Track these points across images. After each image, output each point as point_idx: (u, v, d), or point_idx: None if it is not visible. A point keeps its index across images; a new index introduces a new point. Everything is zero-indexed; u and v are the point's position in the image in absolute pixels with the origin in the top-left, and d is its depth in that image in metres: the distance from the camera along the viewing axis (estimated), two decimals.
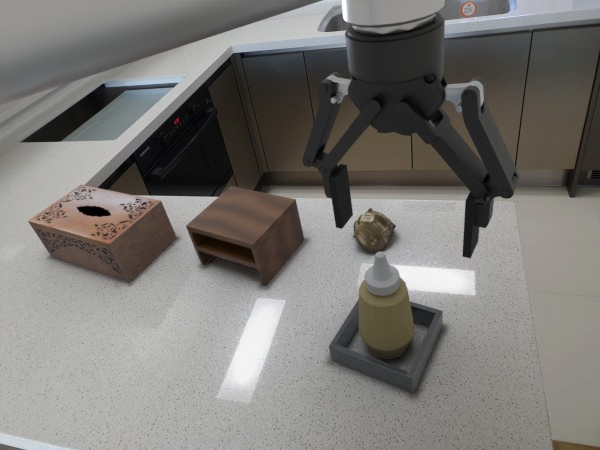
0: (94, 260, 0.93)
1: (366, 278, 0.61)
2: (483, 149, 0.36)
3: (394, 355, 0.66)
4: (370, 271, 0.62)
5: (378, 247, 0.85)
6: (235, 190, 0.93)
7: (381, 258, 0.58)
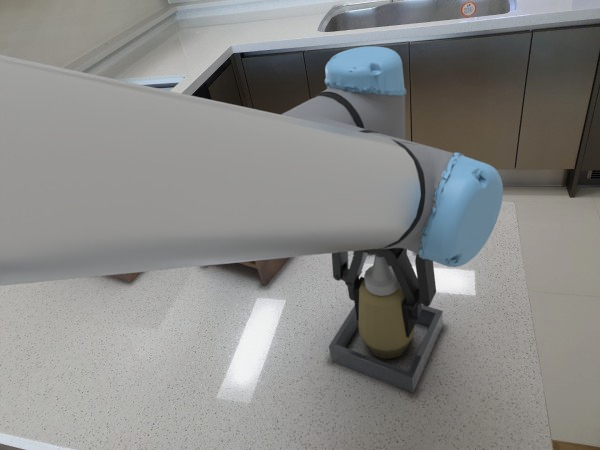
0: None
1: (366, 278, 0.61)
2: (421, 278, 0.56)
3: (395, 355, 0.66)
4: (370, 271, 0.62)
5: None
6: None
7: (381, 258, 0.58)
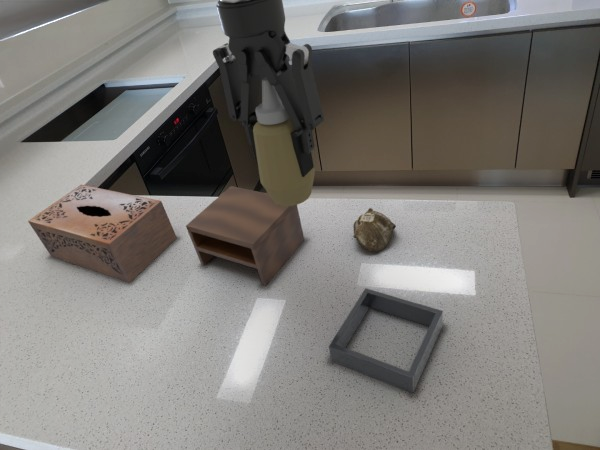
0: (94, 260, 0.93)
1: (256, 109, 0.60)
2: (301, 93, 0.55)
3: (294, 200, 0.65)
4: (262, 104, 0.61)
5: (378, 247, 0.85)
6: (235, 190, 0.93)
7: (267, 81, 0.58)
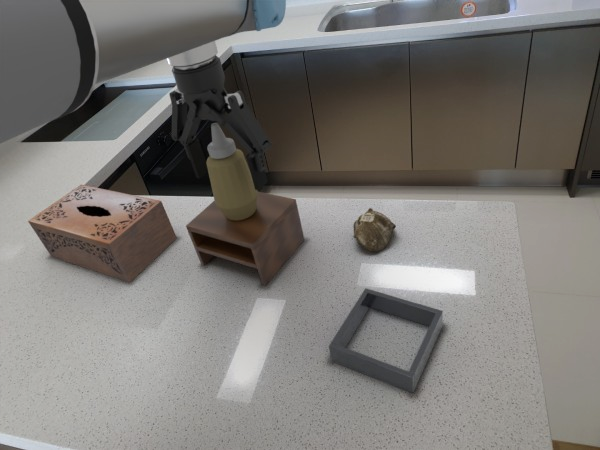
0: (94, 260, 0.93)
1: (208, 146, 0.78)
2: (244, 127, 0.71)
3: (240, 215, 0.83)
4: None
5: (378, 247, 0.85)
6: None
7: (214, 126, 0.75)
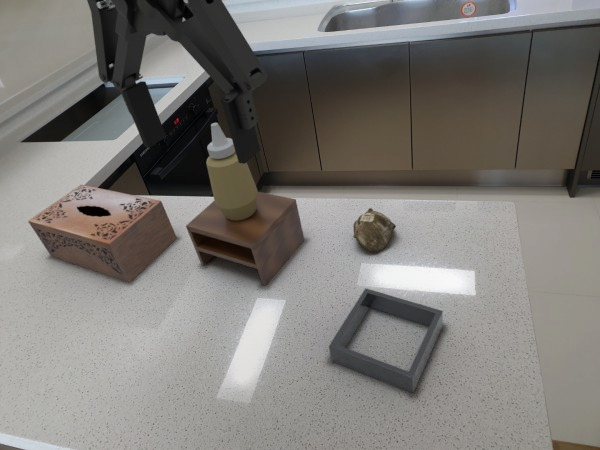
0: (94, 260, 0.93)
1: (208, 146, 0.78)
2: (215, 40, 0.37)
3: (240, 215, 0.83)
4: None
5: (378, 247, 0.85)
6: None
7: (214, 126, 0.75)
